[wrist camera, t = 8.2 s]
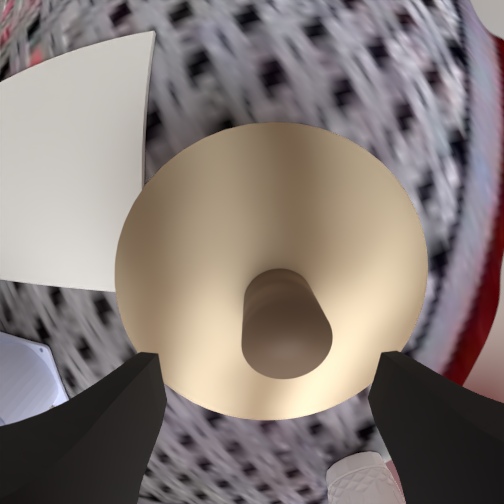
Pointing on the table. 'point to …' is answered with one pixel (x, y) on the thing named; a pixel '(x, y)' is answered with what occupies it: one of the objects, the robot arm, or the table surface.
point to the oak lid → (271, 270)
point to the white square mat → (72, 162)
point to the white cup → (362, 481)
